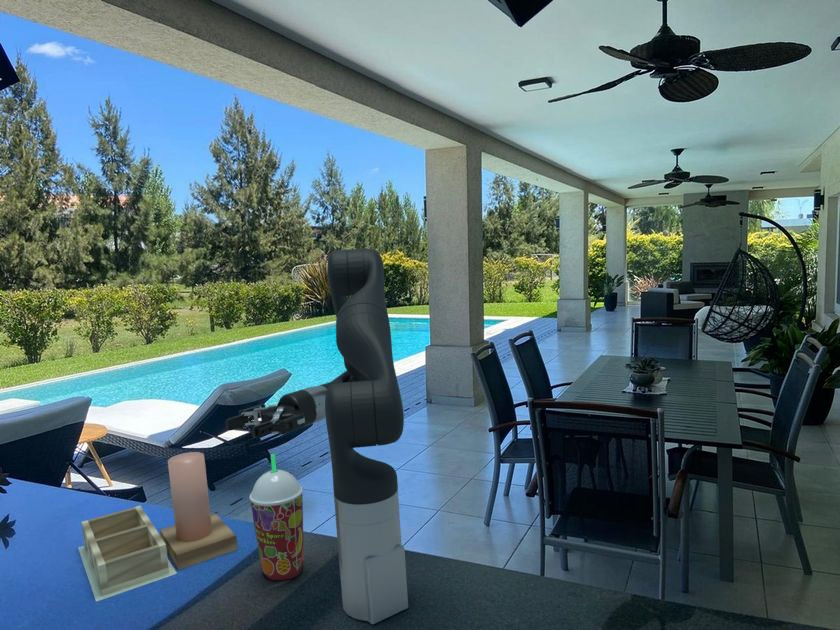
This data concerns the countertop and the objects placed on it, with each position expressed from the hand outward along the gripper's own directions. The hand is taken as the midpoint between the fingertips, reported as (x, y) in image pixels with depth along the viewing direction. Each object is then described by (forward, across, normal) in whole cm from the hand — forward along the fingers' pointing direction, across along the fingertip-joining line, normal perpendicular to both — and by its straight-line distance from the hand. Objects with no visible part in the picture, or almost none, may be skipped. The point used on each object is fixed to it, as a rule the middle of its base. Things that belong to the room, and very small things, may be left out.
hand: (239, 429), depth 116 cm
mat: (+21, -6, +19) cm, 29 cm away
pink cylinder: (+12, 0, +16) cm, 20 cm away
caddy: (+21, -6, +18) cm, 29 cm away
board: (+11, 0, +19) cm, 22 cm away
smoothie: (+8, +20, +19) cm, 29 cm away
